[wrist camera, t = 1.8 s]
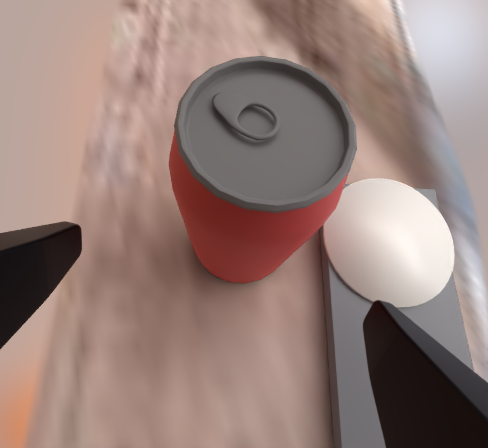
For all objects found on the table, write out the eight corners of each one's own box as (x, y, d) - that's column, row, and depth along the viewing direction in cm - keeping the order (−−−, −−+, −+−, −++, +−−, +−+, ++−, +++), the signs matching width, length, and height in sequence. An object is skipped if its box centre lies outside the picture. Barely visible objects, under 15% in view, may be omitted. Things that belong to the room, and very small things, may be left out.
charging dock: (485, 484, 16) (511, 499, 15) (332, 485, 16) (343, 502, 14) (425, 190, 22) (439, 182, 21) (313, 183, 22) (320, 174, 20)
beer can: (226, 178, 21) (235, 13, 10) (302, 224, 20) (406, 104, 9) (172, 249, 19) (105, 144, 8) (255, 304, 18) (314, 276, 7)
